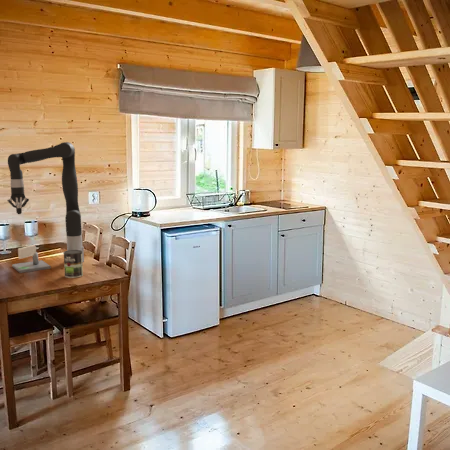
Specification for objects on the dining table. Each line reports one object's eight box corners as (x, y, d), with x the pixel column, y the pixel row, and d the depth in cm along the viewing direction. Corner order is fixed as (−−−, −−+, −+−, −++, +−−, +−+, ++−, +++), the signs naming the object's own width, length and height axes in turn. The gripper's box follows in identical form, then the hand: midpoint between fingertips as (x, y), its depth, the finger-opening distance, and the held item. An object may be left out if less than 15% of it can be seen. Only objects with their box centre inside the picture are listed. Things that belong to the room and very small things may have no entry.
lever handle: (35, 262, 316) (34, 244, 314) (39, 263, 314) (38, 244, 312) (18, 267, 304) (16, 248, 302) (22, 268, 302) (20, 249, 300)
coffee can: (77, 278, 287) (76, 254, 285) (61, 277, 290) (59, 253, 287) (86, 273, 297) (85, 250, 295) (70, 272, 300) (69, 249, 297)
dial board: (42, 262, 324) (42, 260, 323) (50, 268, 309) (50, 265, 309) (12, 266, 313) (12, 264, 313) (19, 272, 299) (19, 270, 299)
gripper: (26, 185, 323) (28, 212, 326) (4, 186, 316) (6, 214, 319) (30, 186, 317) (31, 213, 320) (7, 187, 310) (9, 215, 312)
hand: (19, 214), depth 319 cm, fingers closed
